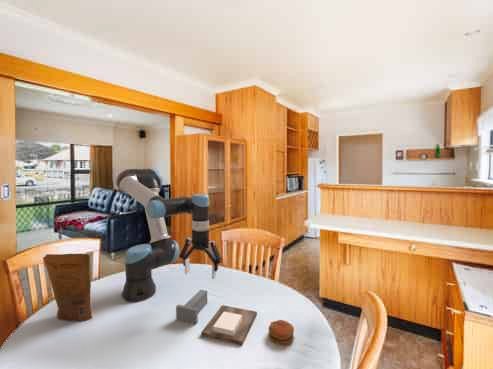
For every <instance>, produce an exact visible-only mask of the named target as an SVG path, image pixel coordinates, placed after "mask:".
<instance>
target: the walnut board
mask: <svg viewBox="0 0 493 369" xmlns="http://www.w3.org/2000/svg"><path fill="white" fill-rule="evenodd" d="M223 312H229V313H234V314H239V315H242V321H241V323H240V325H239V327H238V328H237V330H236V332H235V334H234V336H231V335H227V334H222V333H218V332H213V326H214V324H215V323H216V322H217V320H218V319H219V317H220V316H221V315H222V313H223ZM257 315H258V311H254V310H250V309H245V308H240V307H236V306H235V307H234V306H228V305H224V304H223V305H221V306H220V307H219V309H218V310H217V311H216V313H215V314H214V315H213V316H212V317H211V319H210V320H209V322H208V323H207V324H206V326H205V327H204V328H203V330H202V331H201V333H200V335H201V337H203V338H204V337H205V338H208V339H211V340H212V339H213V340H218V341H222V342H226V343H229V344H233V345H239V346H243V345H244V342H245V341H246V338H247V336H248V335H249V332H250V330H251V329H252V326H253V324H254V322H255V320H256V317H257Z"/></svg>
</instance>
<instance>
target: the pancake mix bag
mask: <svg viewBox="0 0 493 369" xmlns="http://www.w3.org/2000/svg"><path fill="white" fill-rule="evenodd" d="M42 259H43V260H42V261H43V264H44V266H45V268H46V273H47V276H48V279H49V281H50V285H51V289H52V292H53V296H54V300H55V304H56V307H57V313H56V316H57V318H56V319H57V320H60V321H70V322H79V323H81V322H86V321H89V320H91V319H93V316H92V308H91V299H92V298H91V288H92V286H91V285H92V283H91V255H90V254H87V253H61V254H58V253H57V254H54V253H53V254H51V253H50V254H49V253H47V254H45V255H44V256H43V257H42Z"/></svg>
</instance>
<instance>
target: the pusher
mask: <svg viewBox="0 0 493 369" xmlns="http://www.w3.org/2000/svg"><path fill="white" fill-rule="evenodd" d="M207 305H208V290H205V289H199V291H198V292H196V293H195V294H194V295H193V296H192V297H191V298H190V299H189V300H188V301H187V302H186V303H185V304H184V305H182V304H177V305H176V306H175V314H176V315H175V316H176V319H175V320H176V321H177V322H182V323H186V324H191V325H195V326H196V325H197V324H198V321H199V319H198V314H200V313H201V311H203V309H205V306H207Z"/></svg>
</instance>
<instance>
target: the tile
mask: <svg viewBox="0 0 493 369" xmlns="http://www.w3.org/2000/svg"><path fill="white" fill-rule="evenodd" d="M241 321H242V315H239V314H234V313H229V312H223V313H222V315H221V316H220V317H219V319H218V320H217V322H216V323H215V324H214V326H213V332H218V333H222V334H227V335H231V336H234V334H235V332H236V330H237V328H238V327H239V325H240V323H241Z"/></svg>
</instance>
